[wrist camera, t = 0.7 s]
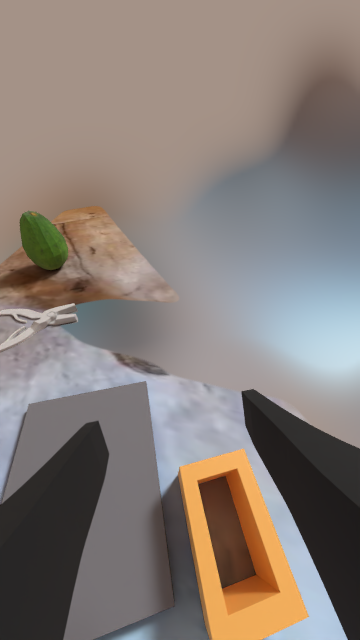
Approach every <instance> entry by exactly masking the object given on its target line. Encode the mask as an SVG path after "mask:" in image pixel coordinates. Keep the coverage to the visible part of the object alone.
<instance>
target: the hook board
mask: <svg viewBox="0 0 360 640" xmlns="http://www.w3.org/2000/svg"><path fill="white" fill-rule="evenodd" d="M94 421H99V424H100V427H101V430H102V433H103V436H104V439H105V442H106V445H107V448H108V451H109V459H108V465H107V470H106V475H105V480H104V483H103V486H102V490H101V493H100V497H99V500H98V503H97V506H96V510H95V513H94V516H93V519H92V523H91V526H90V529H89V532H88V536H87V539H86V542H85V546H84V550H83V553H82V557H81V561H80V565H79V570H78V574H77V579H76V583H75V587H74V592H73V596H72V601H71V606H70V610H69V615H68V620H67V625H66V629H65V634H64V639H63V640H93V639H96V638H98V637H101V636H103V635H106V634H108V633H110V632H113V631H115V630H118V629H120V628H123V627H125V626H127V625H130V624H132V623H135V622H137V621H140V620H142V619H144V618H147V617H149V616H152V615H154V614H157V613H159V612H161V611H164V610H166V609H169V608H171V607H174V596H173V589H172V581H171V573H170V565H169V557H168V549H167V541H166V533H165V525H164V518H163V510H162V502H161V494H160V486H159V478H158V470H157V462H156V454H155V447H154V439H153V431H152V423H151V415H150V407H149V399H148V391H147V384H146V381H144V382H139V383H134V384H129V385H124V386H119V387H114V388H109V389H103V390H98V391H93V392H88V393H83V394H78V395H73V396H68V397H63V398H58V399H53V400H47V401H42V402H37V403H32V404H29V406H28V409H27V413H26V417H25V420H24V424H23V428H22V431H21V435H20V438H19V442H18V446H17V449H16V453H15V456H14V460H13V464H12V467H11V471H10V475H9V478H8V482H7V485H6V489H5V493H4V496H3V500H2V503H3V502H4V501H6V500H7V499H8V498H9V497H10V496H11V495H12V494H13V493H15V492H16V491H17V490H18V489H19V488H20V487H21V486H22V485H23V484H24V483H26V482H27V481H28V480H29V479H30V478H31V477H32V476H33V475H34V474H35V473H36V472H37V471H38V470H39V469H40V468H41V467H42V466H43V465H44V464H45V463H47V462H48V461H49V460H50V459H51V458H52V456H53V455H54V454H55V453H56V452H57V451H58V450H59V449H60V448H61V447H62V446H63V445H64V444H65V443H66V442H67V441H68V440H69V439H70V438H71V437H72V436H73V435H74V434H75V433H76V432H77V431H78V430H79V429H80V428H81V427H82V426H83V425H85V424H86V423H89V422H94ZM2 503H1V504H2Z"/></svg>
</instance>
